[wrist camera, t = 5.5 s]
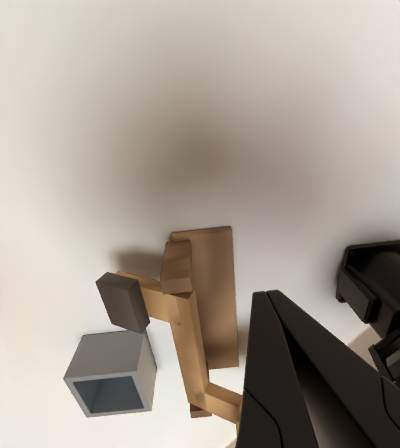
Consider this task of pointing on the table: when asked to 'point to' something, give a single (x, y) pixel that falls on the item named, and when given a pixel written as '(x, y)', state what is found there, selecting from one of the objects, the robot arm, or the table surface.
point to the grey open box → (113, 374)
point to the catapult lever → (181, 329)
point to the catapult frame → (206, 291)
